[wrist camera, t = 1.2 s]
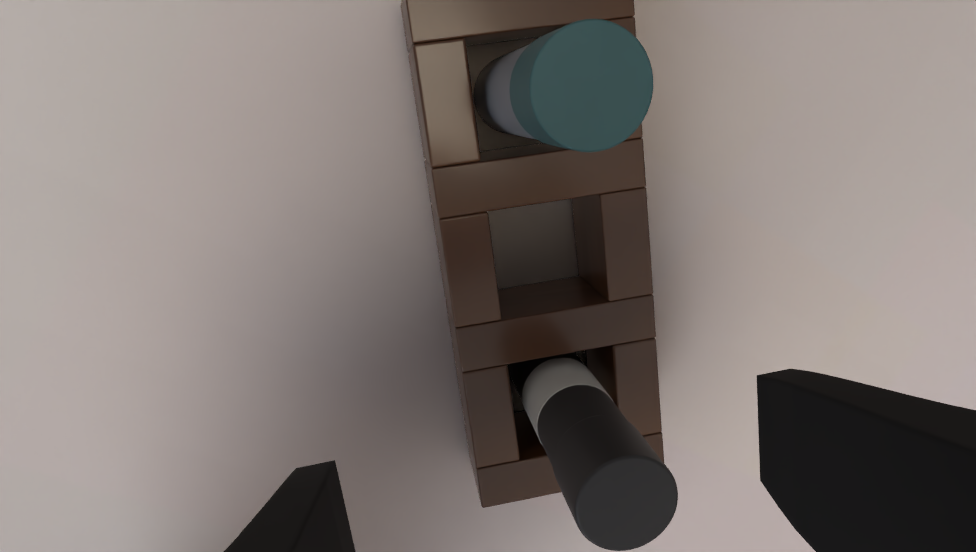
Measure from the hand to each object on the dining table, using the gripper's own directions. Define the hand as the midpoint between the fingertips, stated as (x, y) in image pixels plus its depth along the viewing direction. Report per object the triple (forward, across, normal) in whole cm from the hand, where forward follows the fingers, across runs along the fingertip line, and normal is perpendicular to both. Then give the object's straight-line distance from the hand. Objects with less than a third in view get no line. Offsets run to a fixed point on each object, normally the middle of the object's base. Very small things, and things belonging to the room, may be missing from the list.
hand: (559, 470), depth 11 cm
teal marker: (+10, -2, -6) cm, 12 cm away
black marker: (+10, -2, +3) cm, 11 cm away
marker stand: (+10, -2, -2) cm, 11 cm away
